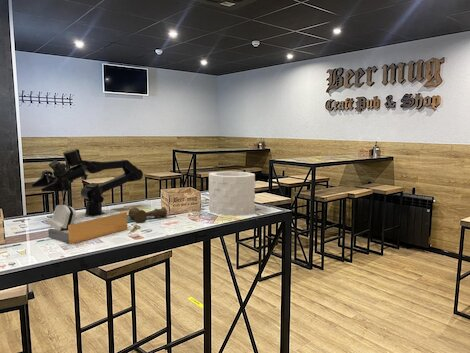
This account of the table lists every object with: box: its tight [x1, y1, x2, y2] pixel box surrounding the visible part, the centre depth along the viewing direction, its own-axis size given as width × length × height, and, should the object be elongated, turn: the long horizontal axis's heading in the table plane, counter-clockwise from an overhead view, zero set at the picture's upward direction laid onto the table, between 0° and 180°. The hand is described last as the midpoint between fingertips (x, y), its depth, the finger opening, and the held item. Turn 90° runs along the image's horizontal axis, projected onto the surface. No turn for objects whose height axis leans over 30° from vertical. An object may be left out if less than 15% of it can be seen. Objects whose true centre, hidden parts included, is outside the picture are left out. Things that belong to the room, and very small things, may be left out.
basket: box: [208, 170, 256, 216], centre depth 186 cm, size 25×24×19 cm
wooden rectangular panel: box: [48, 211, 128, 245], centre depth 144 cm, size 25×15×7 cm, turn 145°
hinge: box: [47, 204, 77, 231], centre depth 154 cm, size 17×5×10 cm, turn 43°
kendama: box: [127, 206, 168, 224], centre depth 165 cm, size 6×10×20 cm
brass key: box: [129, 225, 141, 233], centre depth 149 cm, size 7×3×1 cm, turn 175°
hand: (36, 188), depth 154 cm, fingers open, 9 cm apart
